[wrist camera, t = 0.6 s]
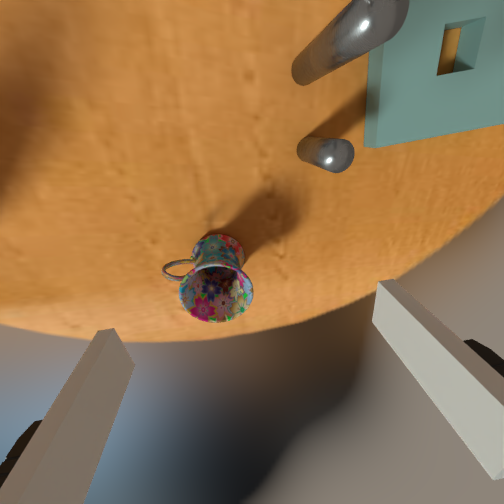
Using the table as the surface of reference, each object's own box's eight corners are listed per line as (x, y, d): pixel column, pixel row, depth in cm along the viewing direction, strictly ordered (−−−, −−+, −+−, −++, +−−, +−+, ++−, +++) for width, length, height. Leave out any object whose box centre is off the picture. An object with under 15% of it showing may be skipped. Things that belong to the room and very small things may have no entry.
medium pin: (295, 138, 32) (323, 142, 23) (318, 134, 32) (355, 136, 23) (297, 163, 33) (323, 175, 24) (319, 159, 33) (353, 169, 25)
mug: (254, 239, 38) (264, 274, 29) (236, 284, 42) (239, 328, 32) (180, 216, 35) (164, 248, 26) (167, 267, 39) (149, 311, 29)
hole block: (374, -38, 25) (392, -58, 22) (538, -67, 25) (576, -91, 22) (363, 146, 33) (375, 147, 31) (486, 123, 33) (509, 122, 31)
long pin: (290, 55, 28) (359, -24, 13) (316, 50, 28) (413, -33, 14) (292, 87, 29) (356, 47, 15) (317, 83, 29) (405, 39, 15)
